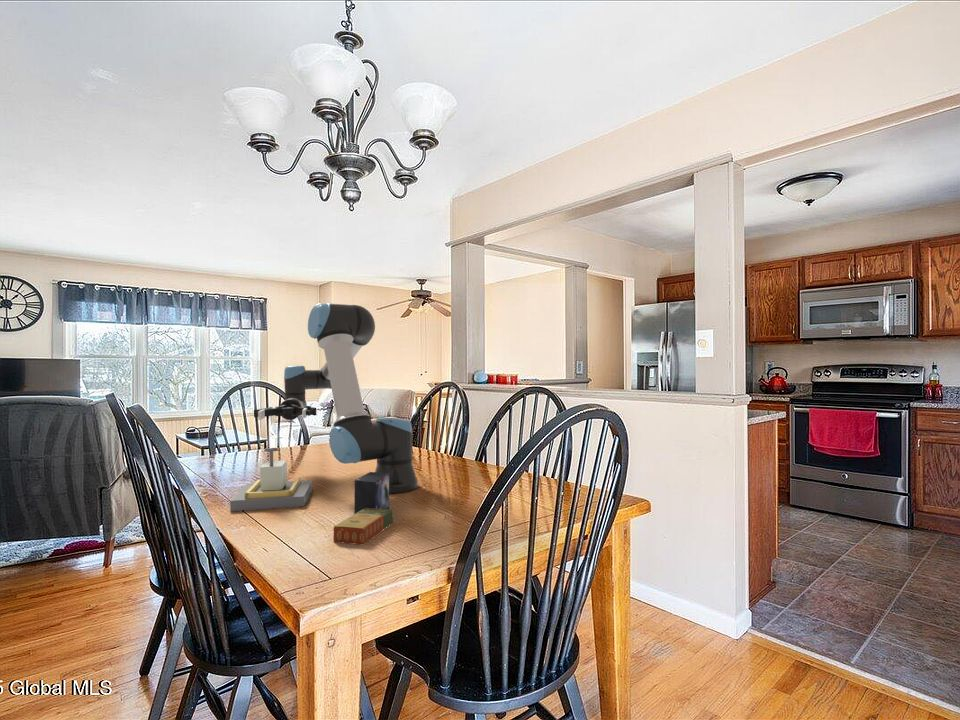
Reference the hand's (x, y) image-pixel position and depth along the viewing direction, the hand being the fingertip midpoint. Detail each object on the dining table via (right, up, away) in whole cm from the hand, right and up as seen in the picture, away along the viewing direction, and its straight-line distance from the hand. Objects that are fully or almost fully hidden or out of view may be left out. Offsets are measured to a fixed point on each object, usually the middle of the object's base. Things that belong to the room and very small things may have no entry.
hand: (281, 414), depth 169 cm
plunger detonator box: (+2, -22, -10) cm, 24 cm away
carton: (+36, -25, -40) cm, 60 cm away
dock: (+2, -25, -10) cm, 27 cm away
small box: (+35, -25, -25) cm, 50 cm away
